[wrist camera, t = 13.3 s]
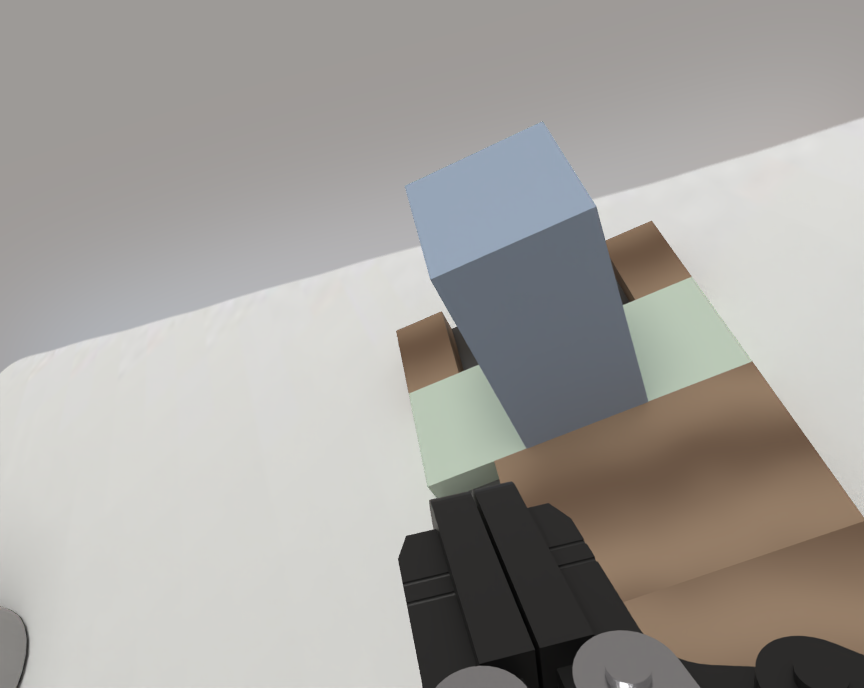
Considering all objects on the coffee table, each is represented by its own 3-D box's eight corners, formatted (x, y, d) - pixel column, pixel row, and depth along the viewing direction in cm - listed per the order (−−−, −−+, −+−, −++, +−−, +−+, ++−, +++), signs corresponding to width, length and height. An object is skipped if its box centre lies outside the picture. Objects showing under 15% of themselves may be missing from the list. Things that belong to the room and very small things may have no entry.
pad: (753, 386, 31) (752, 361, 29) (442, 504, 33) (427, 486, 32) (695, 301, 35) (691, 276, 33) (422, 412, 37) (408, 393, 36)
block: (648, 401, 30) (596, 206, 21) (526, 448, 31) (430, 279, 22) (601, 313, 34) (542, 121, 26) (495, 357, 35) (404, 186, 27)
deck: (1120, 916, 17) (1149, 918, 16) (558, 1043, 20) (541, 1054, 19) (656, 245, 38) (651, 220, 37) (409, 350, 41) (396, 330, 39)
